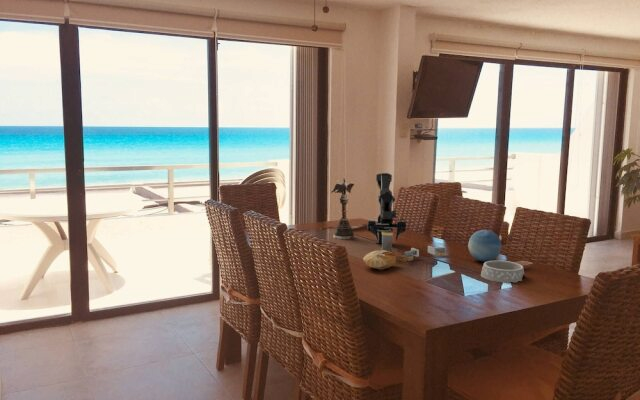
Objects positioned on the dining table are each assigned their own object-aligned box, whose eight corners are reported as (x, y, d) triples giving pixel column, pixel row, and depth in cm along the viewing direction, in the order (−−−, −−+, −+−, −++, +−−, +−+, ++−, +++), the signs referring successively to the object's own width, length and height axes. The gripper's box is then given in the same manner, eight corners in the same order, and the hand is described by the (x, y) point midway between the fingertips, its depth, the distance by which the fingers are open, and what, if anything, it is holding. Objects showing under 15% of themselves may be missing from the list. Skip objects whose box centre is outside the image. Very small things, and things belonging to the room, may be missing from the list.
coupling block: (381, 256, 269) (381, 230, 267) (391, 257, 268) (392, 230, 267) (381, 259, 264) (382, 232, 262) (392, 259, 263) (392, 232, 262)
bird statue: (327, 234, 323) (327, 174, 319) (348, 233, 326) (349, 174, 321) (333, 239, 307) (333, 177, 302) (355, 238, 310) (356, 177, 305)
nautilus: (404, 264, 257) (412, 274, 242) (359, 262, 254) (365, 272, 240) (406, 248, 255) (414, 257, 241) (360, 246, 253) (366, 255, 238)
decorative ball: (464, 262, 257) (465, 231, 255) (471, 256, 270) (472, 226, 268) (497, 266, 250) (499, 234, 248) (503, 259, 264) (504, 228, 261)
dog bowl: (527, 274, 238) (528, 262, 238) (519, 285, 223) (520, 272, 222) (487, 269, 247) (488, 257, 246) (476, 279, 231) (477, 267, 231)
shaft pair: (400, 258, 265) (400, 249, 264) (439, 253, 275) (439, 244, 274) (407, 261, 260) (407, 251, 259) (446, 256, 270) (447, 246, 269)
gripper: (367, 204, 269) (368, 230, 260) (406, 204, 268) (407, 231, 259) (367, 217, 278) (367, 243, 269) (404, 218, 277) (406, 244, 267)
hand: (387, 240), depth 266 cm, fingers open, 9 cm apart
